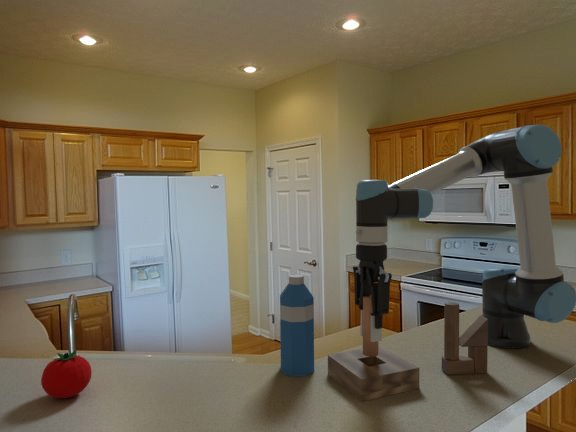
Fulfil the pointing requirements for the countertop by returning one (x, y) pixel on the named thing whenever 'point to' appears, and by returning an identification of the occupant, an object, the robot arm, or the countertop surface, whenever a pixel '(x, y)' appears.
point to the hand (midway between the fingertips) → (370, 337)
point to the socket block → (373, 373)
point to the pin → (368, 329)
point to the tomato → (66, 375)
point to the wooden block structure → (464, 343)
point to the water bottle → (297, 328)
